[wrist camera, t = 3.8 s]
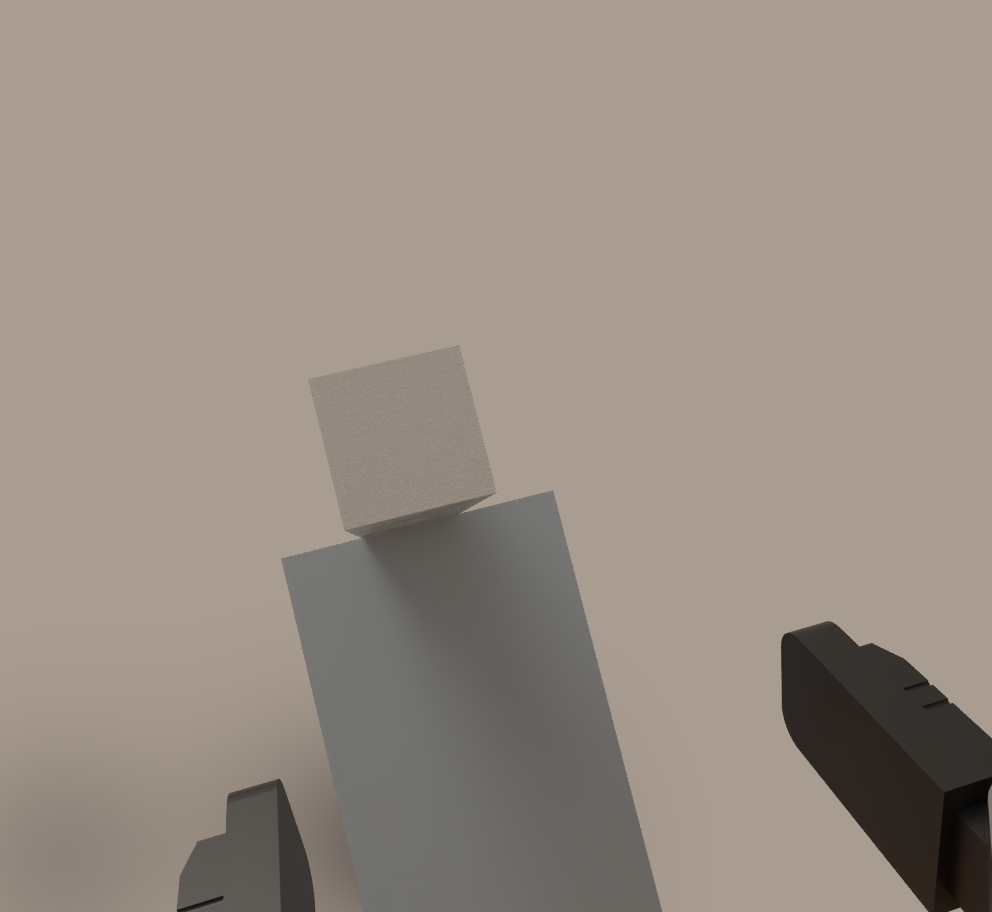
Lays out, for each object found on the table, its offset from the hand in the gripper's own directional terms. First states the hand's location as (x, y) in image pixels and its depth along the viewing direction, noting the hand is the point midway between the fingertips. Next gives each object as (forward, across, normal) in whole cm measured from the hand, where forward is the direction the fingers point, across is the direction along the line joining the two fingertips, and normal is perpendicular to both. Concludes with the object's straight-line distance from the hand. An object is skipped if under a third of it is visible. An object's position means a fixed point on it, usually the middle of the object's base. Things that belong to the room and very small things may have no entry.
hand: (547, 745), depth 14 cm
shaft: (+20, 0, +7) cm, 22 cm away
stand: (+10, 0, +38) cm, 39 cm away
